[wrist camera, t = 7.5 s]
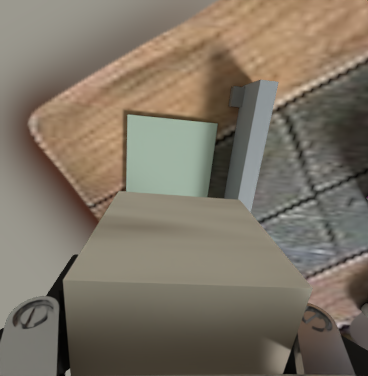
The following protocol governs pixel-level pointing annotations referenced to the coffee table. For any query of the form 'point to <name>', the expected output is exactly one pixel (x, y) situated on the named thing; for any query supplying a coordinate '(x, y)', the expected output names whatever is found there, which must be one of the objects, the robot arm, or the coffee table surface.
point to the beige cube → (181, 291)
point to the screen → (249, 138)
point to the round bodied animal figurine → (365, 309)
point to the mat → (169, 156)
